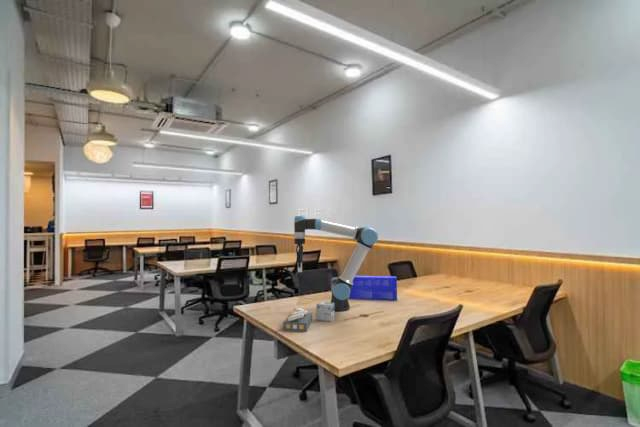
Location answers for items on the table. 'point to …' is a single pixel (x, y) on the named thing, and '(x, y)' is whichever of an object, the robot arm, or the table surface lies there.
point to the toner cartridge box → (374, 288)
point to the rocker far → (298, 309)
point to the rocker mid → (298, 312)
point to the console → (298, 323)
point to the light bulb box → (325, 311)
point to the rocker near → (295, 316)
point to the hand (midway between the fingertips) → (299, 271)
